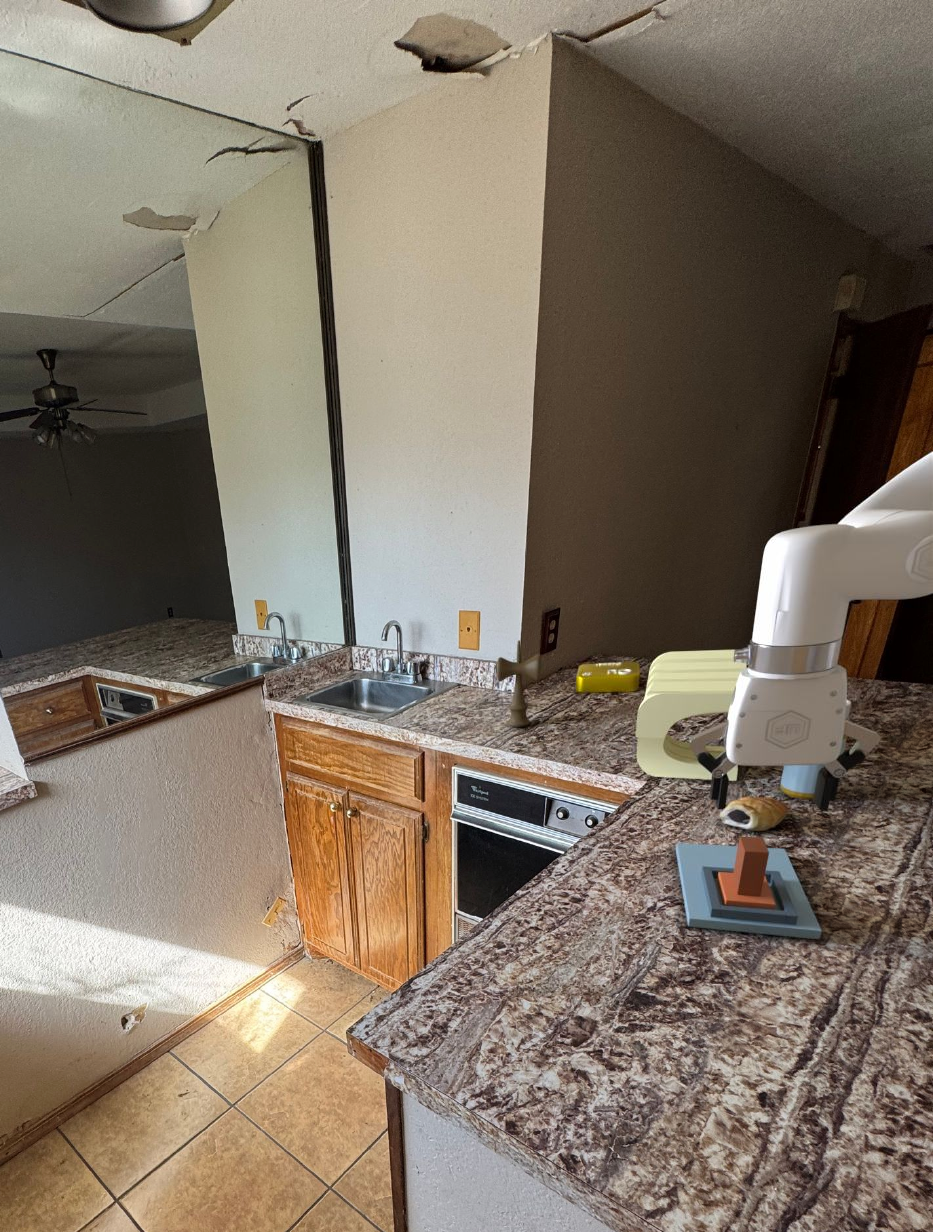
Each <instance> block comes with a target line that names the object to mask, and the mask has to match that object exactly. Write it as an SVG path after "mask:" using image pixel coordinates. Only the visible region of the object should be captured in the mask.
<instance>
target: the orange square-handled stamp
mask: <svg viewBox="0 0 933 1232" xmlns="http://www.w3.org/2000/svg"><path fill="white" fill-rule="evenodd" d="M737 846H738V849H737V854H736V860H735V866H734V871H733V873H728V872H719V873H718V879H717V883H718V887H719V891H720V894H721V898H722V902H723V906H734V907H746V908H757V909H769V910H775V906H776V904H775V901H774V898H773V896H772V893H771V890H770V888H769V885H768V882H767V880H766V877H765V871H766V866H767V861H768V856H769V851H768V849H767V848H768V847H767V844H766V842H765V839H764V837H761V836H742V835H741V836H739V838H738V845H737Z"/></svg>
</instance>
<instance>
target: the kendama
mask: <svg viewBox="0 0 933 1232" xmlns="http://www.w3.org/2000/svg"><path fill="white" fill-rule="evenodd" d="M521 646H522V645H521V640H520V639H518V641H517V645H516V661H511V660H508V659H506V658H504V657H501V656H500V657H498V658H497V662H496V677H497V681H498V682H503V681H505V680H506V679H508V678H509V677H513V676H515V678H514V679H515V680H514V688H513V695H512V700H511V702H510V703H509V705H508V709H509V711H510V718H509V719H508V720H507V721H506V724H507V726H508V727H511V728H522V727H526V726H529V724H531V723H530V719H529V718H528V716H527V710H528V708H529V707H530V706H529V703H527V702H526V699H525V694H524V685H523V675H525V676H528V677H529V678H531V679H532V680H535V681H540V679H541V675H542V657H541V654H540V653H536V654H535V655H533V656H532V657H530V658H529V659H527V660H525V661H522V647H521Z"/></svg>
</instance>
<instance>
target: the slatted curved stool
mask: <svg viewBox="0 0 933 1232" xmlns="http://www.w3.org/2000/svg"><path fill="white" fill-rule="evenodd" d="M735 650H736V649H714V650H711V649H710V650H686V651H684V650H683V651H668V652H664V653H662V654H660V655H658V656H657V657H656V658H655V659H653V661H652V663H651V664H650V666H649V670H648V677H647V682H646V687H645V693H644V699H643V700H642V701H641V703H640V705H639V707H638V710H637V714H636V715H637V716H636V724H635V738H637V745H636V763H637V764H638V766H639V768H640V769H641V770H642V771H643V772H644V773H646V774H647V775H649V776H651V777H655V778H671V779H673V778H674V779H690V780H691V779H694V780H709V781H711V779H712V774H711V773H710V772H709V771H708V770H707V769H706V768H705V767H703V766H702V765H701V764H700V763H699V762H698V760H697V758H696V756H695V754H694V752H693V751H692V749H691V747H690V745H689V742H685V741H681V740H677V739H675V738H673V737H672V736H671V735H670V734H669V731H670V729H671V728H672V727H673V726H674V725H675V724H676V723H678V722H680V721H682V720H684V719H689V718H692V717H697V716H704V715H714V714H728V713H729V709H730V704H731V700H732V696H733V693H734V689H735V686H736V683H737V680H738V678H739V675H740V673H741V671H742V670H743V669H745V668H746V667H747V664H746V663H742V662H734V651H735ZM705 748H706V750H707V751H708V752H709V753H710V754H711V755H712V756H713V757H714V758H716V757H717V756H718V755H720V754H721V753H722V752H723V751H724V750H725V748H724V746H719V745H706V746H705ZM738 772H739V765H738V764H737V765H736V766H734V767H733V768H732V769H731V770H730V771H728V772H727V775H728V778H729V782H730V781H731V782H736V781H737V779H738Z"/></svg>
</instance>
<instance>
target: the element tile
mask: <svg viewBox="0 0 933 1232" xmlns="http://www.w3.org/2000/svg"><path fill="white" fill-rule="evenodd" d="M640 671H641V669H640V663H639V662H637V661H624V662H621V661H620V662H599V663H582V664H581V665H578V669H577V673H576V675H575V692H576V693H579V694H599V693H600V694H603V693H604V694H605V693H632V692H636V691H638V690H639V688H640V676H641V675H640V674H641V673H640Z"/></svg>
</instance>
